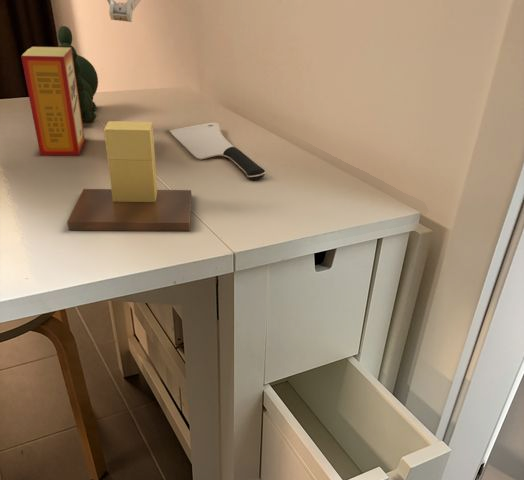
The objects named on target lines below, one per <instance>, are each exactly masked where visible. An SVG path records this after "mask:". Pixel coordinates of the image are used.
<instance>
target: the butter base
mask: <svg viewBox="0 0 524 480" xmlns="http://www.w3.org/2000/svg"><path fill="white" fill-rule="evenodd" d="M107 164H108V175H109V179H110V180H109V181H110V187H111V188H110V189H111V190H112V198H113V202H155V201H156V196H157V190H158V183H157V182H158V181H157V180H158V179H157V170H156V169H157V167H156V166H157V165H156V154H155V151H154V155H153V159H152V160H110V159H108V158H107Z"/></svg>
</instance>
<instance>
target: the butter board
mask: <svg viewBox="0 0 524 480" xmlns="http://www.w3.org/2000/svg"><path fill="white" fill-rule="evenodd" d="M191 210H192V190H191V189H157V196H156V201H155V202H113V198H112V190H111V188H83V189H82V191H81V193H80V195H79V197H78V198H77V201H76V203H75V205H74V207H73V209H72V210H71V213H70V215H69V217H68V219H67V221H66V225H67V229H68V231H130V232H131V231H132V232H133V231H140V232H142V231H143V232H145V231H147V232H149V231H150V232H152V231H153V232H156V231H158V232H161V231H162V232H163V231H164V232H167V231H169V232H190V227H191V213H192V211H191Z"/></svg>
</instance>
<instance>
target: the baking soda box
mask: <svg viewBox="0 0 524 480" xmlns="http://www.w3.org/2000/svg"><path fill="white" fill-rule="evenodd" d="M20 58H21V62H22V68H23V73H24V78H25V83H26V89H27V93H28V99H29V103H30V109H31V114H32V119H33V120H32V121H33V125H34V130H35V135H36V138H37V145H38V149H39V154H40V156H79V155H80V153H81V150H82V149H83V145H84V143H85V139H86V138H85V131H84V124H83V120H82V117H81V110H80V103H79V96H78V89H77V83H76V76H75V69H74V62H73V55H72V48H71V47H59V46H31V47H30V48H28V49H26V51H25V52H23V53H22V55H21V56H20Z"/></svg>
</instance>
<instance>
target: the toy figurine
mask: <svg viewBox="0 0 524 480" xmlns="http://www.w3.org/2000/svg"><path fill="white" fill-rule="evenodd" d="M57 39H58V42H59V43H60V45H58V47H71V48H72V55H73V62H74V69H75V76H76V83H77V89H78V96H79V103H80V110H81V117H82V121H84V122H85V123H86V122H94V120H96V117H97V115H96V111H97V108H98V107H97V105H96V102H95V101H94V96H95V94H96V93H97V91H98V86H99V77H98V73H97V70H96V69H95V66H93V64H92V62H90V61H89V60H88V59H87V58H85V57H84V56H82V55H79V54H78V53H77V50H76V48H75V47H74V46H73V45H72V44H73V34H72V30H71V29H70V28H69V26H66V25H61V26H60V27H59V28H58V30H57Z"/></svg>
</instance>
